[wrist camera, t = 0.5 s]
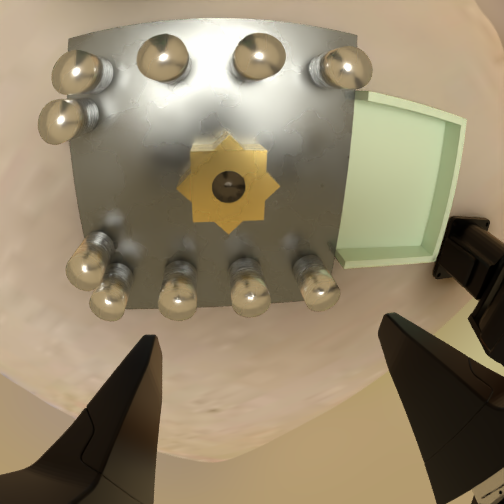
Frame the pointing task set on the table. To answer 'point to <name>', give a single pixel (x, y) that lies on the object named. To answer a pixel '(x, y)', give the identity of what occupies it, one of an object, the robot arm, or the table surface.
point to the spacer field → (178, 162)
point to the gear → (227, 182)
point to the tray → (398, 181)
